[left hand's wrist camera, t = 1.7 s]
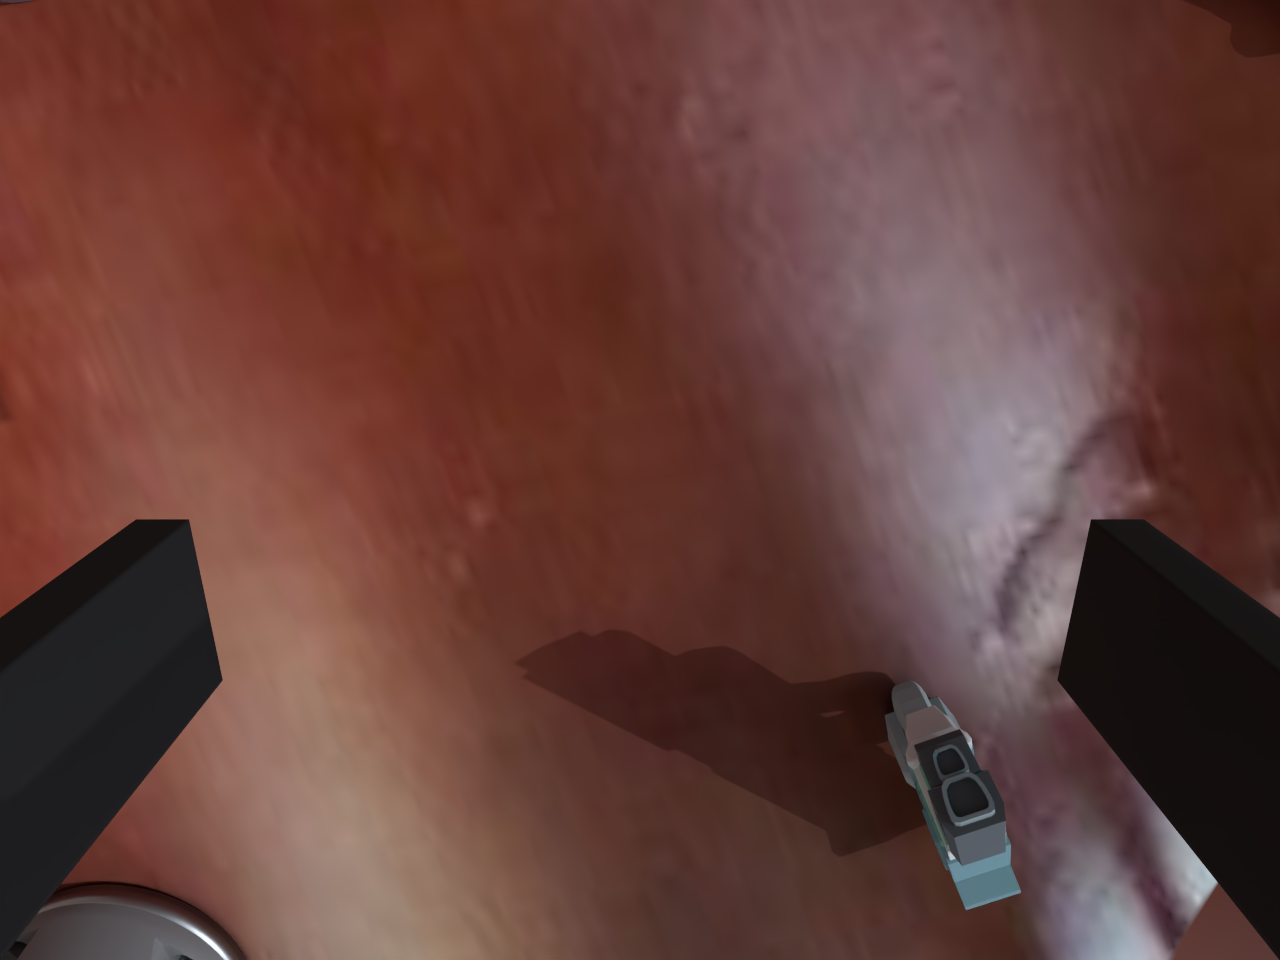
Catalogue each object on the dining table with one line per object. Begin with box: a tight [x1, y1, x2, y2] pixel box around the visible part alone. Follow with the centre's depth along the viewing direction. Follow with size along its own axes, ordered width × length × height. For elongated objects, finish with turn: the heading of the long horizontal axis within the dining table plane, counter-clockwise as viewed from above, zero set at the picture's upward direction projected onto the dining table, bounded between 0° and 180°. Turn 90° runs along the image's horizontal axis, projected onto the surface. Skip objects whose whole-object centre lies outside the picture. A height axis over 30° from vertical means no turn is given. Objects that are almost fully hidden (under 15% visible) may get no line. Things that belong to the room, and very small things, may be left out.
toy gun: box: [885, 680, 1021, 910], centre depth 42 cm, size 4×19×10 cm
